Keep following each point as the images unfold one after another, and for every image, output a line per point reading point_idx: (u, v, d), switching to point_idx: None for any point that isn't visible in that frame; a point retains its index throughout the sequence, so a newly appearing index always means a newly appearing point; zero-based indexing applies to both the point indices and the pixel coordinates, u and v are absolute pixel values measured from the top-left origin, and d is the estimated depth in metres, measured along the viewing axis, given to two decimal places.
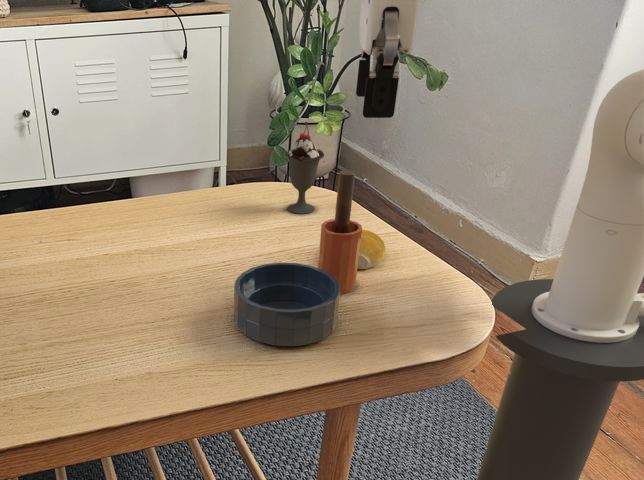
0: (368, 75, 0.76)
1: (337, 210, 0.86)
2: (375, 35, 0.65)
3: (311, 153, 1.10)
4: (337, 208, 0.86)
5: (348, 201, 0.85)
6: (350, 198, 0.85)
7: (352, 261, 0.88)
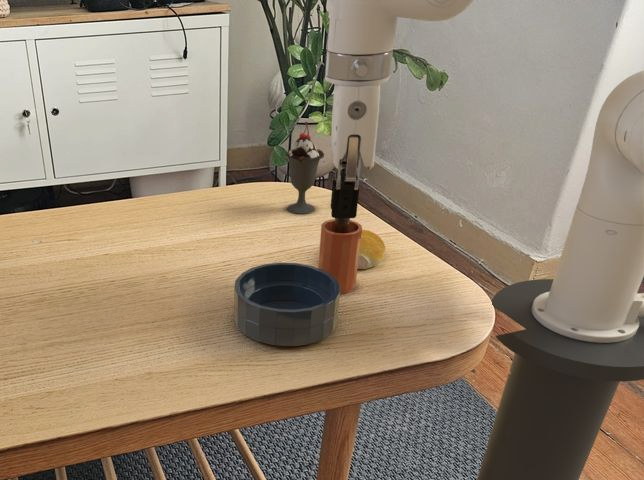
0: None
1: None
2: (342, 155, 0.78)
3: (311, 153, 1.10)
4: None
5: None
6: None
7: (352, 261, 0.88)
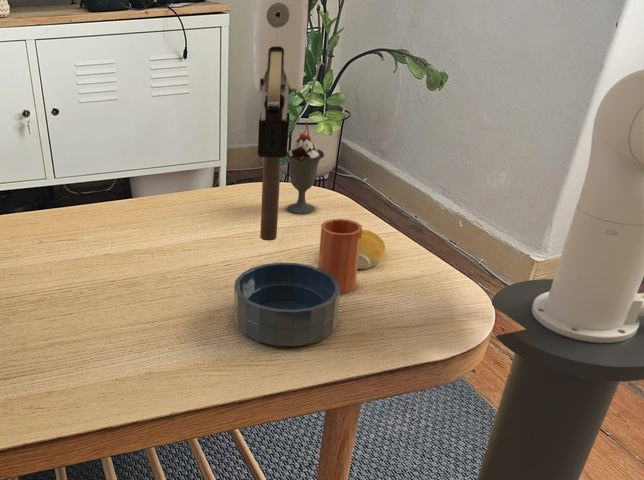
0: None
1: None
2: (262, 74, 0.64)
3: (311, 153, 1.10)
4: None
5: None
6: None
7: (352, 261, 0.88)
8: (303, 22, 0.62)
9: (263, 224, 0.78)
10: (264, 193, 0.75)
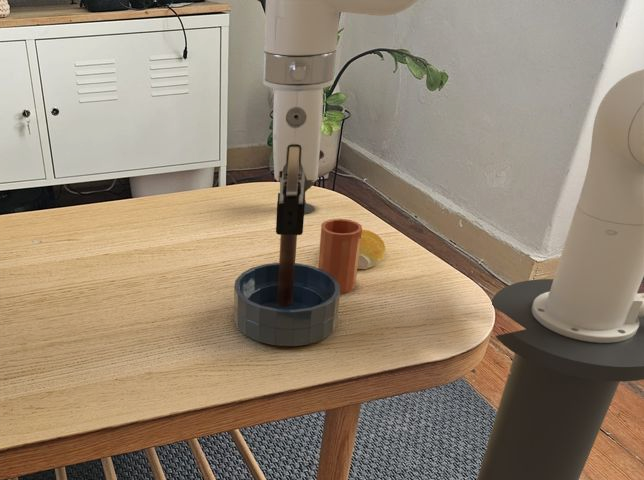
0: None
1: None
2: (281, 167, 0.70)
3: None
4: None
5: None
6: None
7: (352, 261, 0.88)
8: (319, 123, 0.68)
9: (280, 292, 0.83)
10: (281, 265, 0.81)
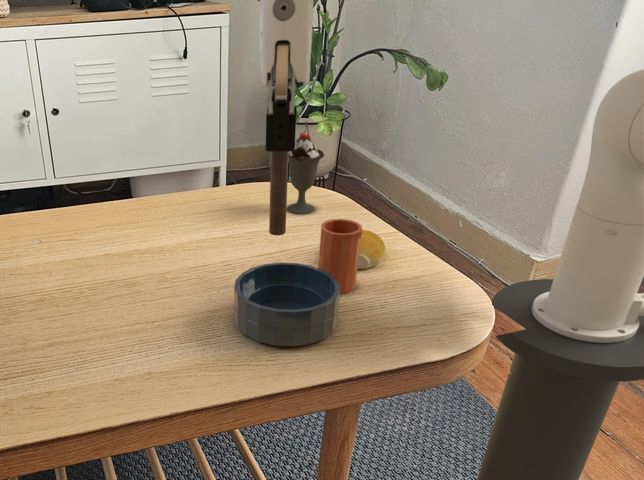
0: None
1: None
2: (269, 68, 0.64)
3: (311, 153, 1.10)
4: None
5: None
6: None
7: (352, 261, 0.88)
8: (309, 15, 0.62)
9: (272, 219, 0.77)
10: (272, 188, 0.75)
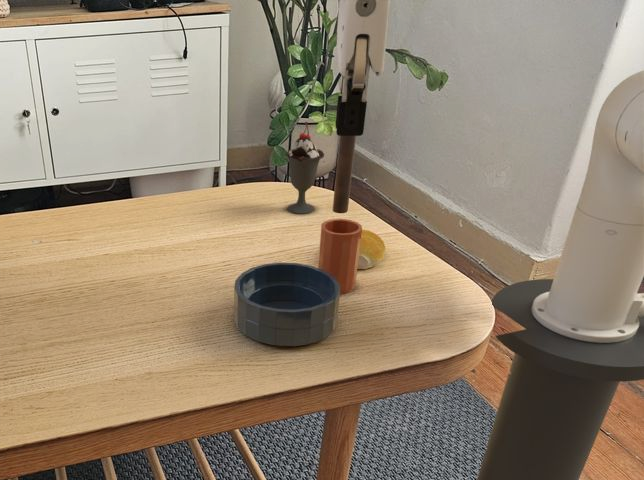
0: None
1: None
2: (349, 59, 0.72)
3: (311, 153, 1.10)
4: None
5: None
6: None
7: (352, 261, 0.88)
8: (388, 12, 0.69)
9: (336, 198, 0.85)
10: (339, 169, 0.83)
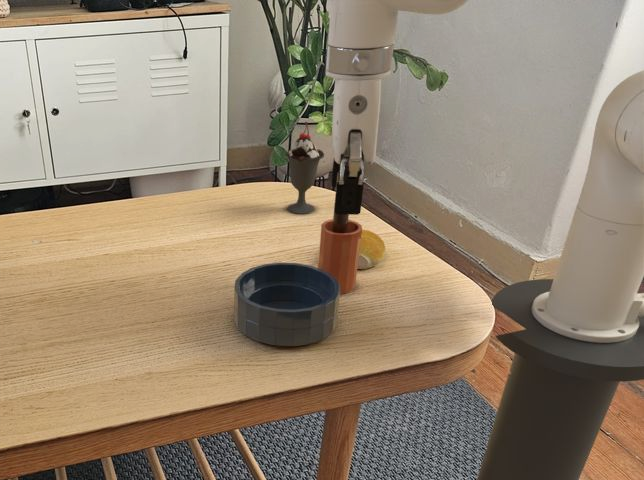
0: None
1: None
2: (343, 150, 0.77)
3: (311, 153, 1.10)
4: None
5: None
6: None
7: (352, 261, 0.88)
8: (378, 110, 0.75)
9: None
10: None
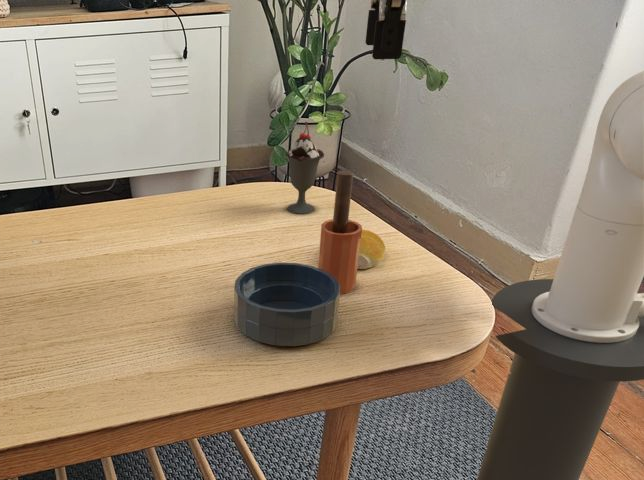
0: None
1: (335, 210, 0.86)
2: None
3: (311, 153, 1.10)
4: (335, 208, 0.86)
5: (347, 201, 0.85)
6: (348, 198, 0.85)
7: (352, 261, 0.88)
8: None
9: None
10: None
